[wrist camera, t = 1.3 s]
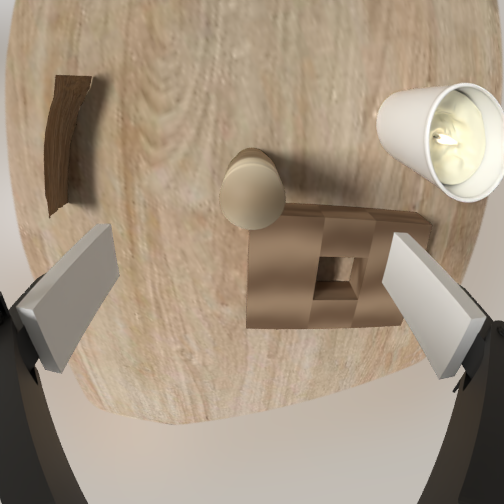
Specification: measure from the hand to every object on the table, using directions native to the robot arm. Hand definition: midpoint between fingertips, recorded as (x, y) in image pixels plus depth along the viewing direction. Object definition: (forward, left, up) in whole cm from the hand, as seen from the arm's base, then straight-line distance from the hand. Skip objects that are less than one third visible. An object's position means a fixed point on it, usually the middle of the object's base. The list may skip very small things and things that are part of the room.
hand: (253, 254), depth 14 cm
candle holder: (-6, +17, -20) cm, 27 cm away
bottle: (0, 0, -20) cm, 20 cm away
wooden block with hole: (+11, +10, -20) cm, 25 cm away
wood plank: (-4, -20, -20) cm, 29 cm away
